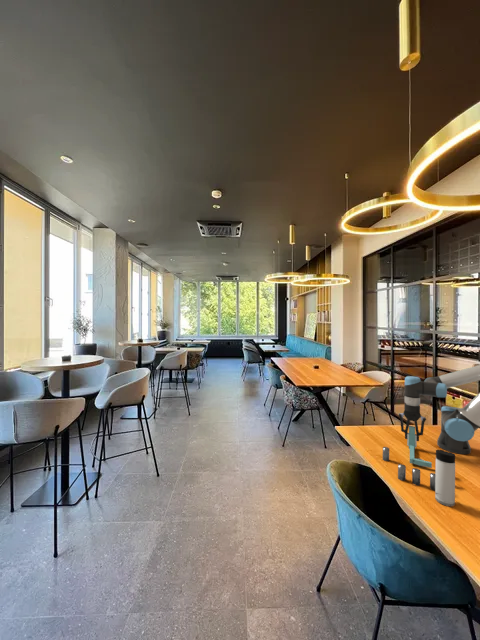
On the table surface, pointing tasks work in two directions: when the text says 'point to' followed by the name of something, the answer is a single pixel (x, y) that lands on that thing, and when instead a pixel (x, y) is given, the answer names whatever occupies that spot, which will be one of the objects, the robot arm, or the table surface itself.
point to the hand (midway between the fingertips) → (411, 445)
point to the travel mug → (445, 478)
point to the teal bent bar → (412, 448)
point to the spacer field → (414, 472)
